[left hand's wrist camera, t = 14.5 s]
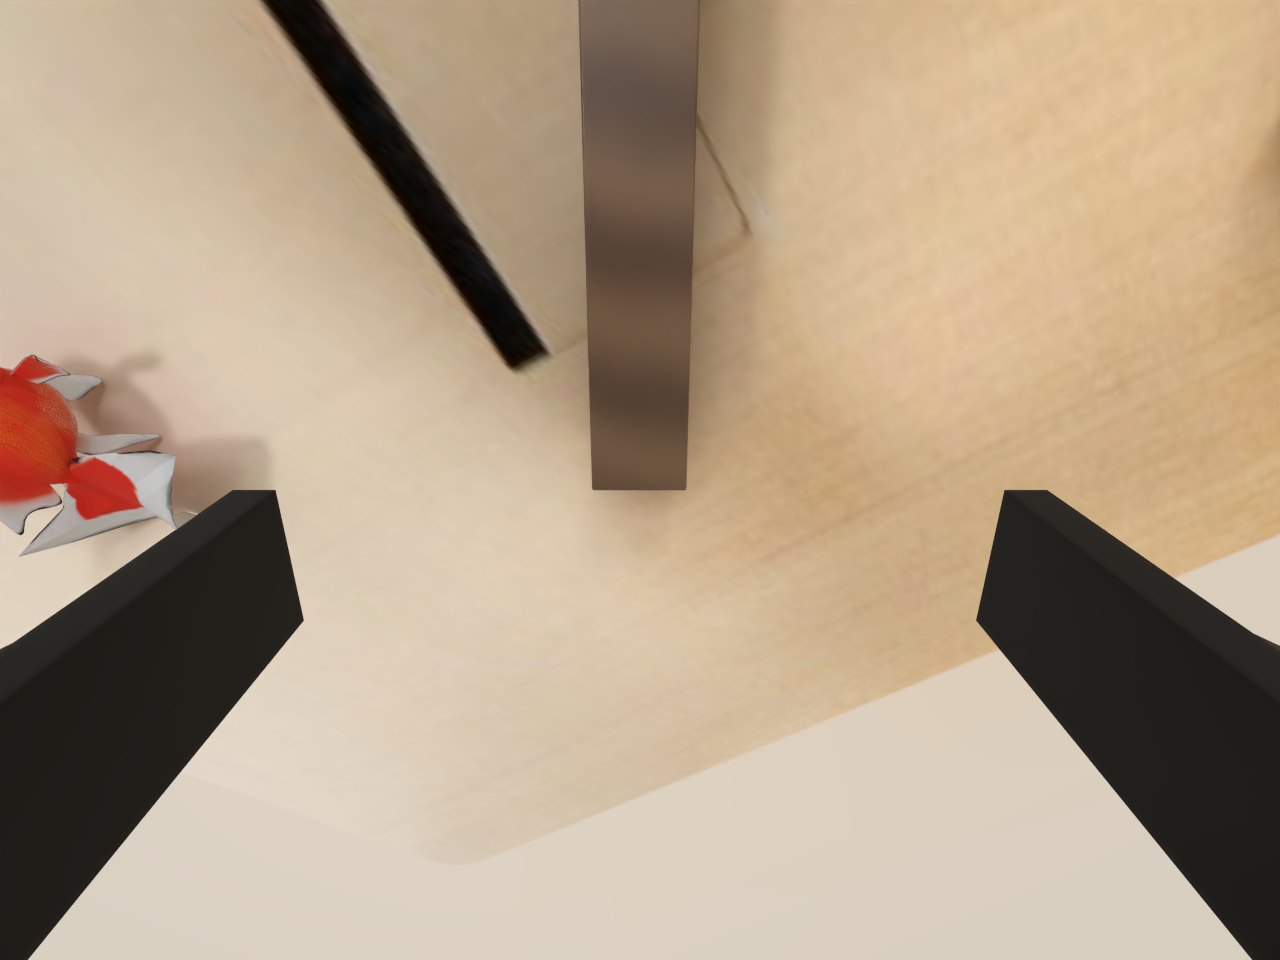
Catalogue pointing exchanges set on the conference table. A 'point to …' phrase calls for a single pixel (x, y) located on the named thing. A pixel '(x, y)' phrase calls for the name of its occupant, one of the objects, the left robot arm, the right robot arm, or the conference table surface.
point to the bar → (639, 234)
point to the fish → (72, 462)
